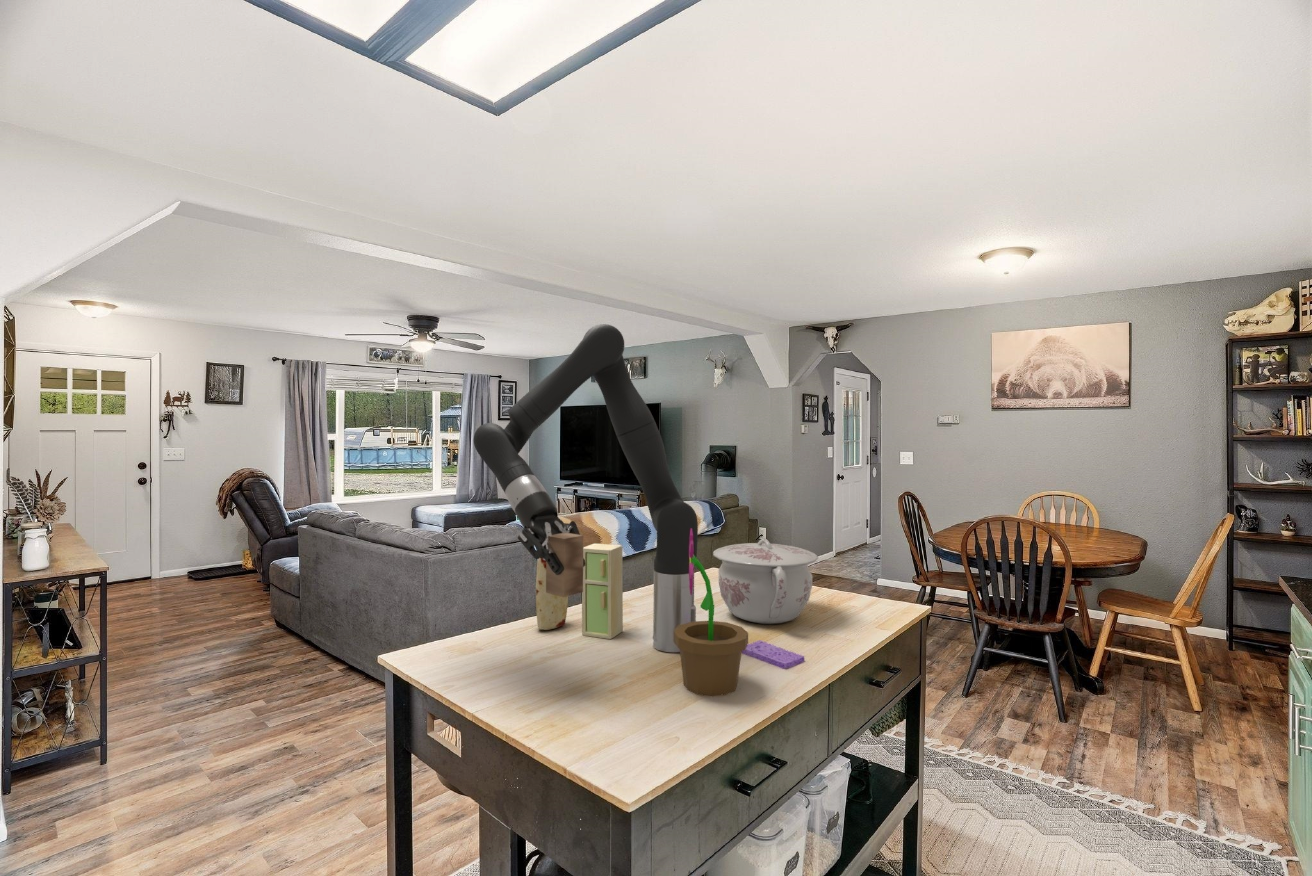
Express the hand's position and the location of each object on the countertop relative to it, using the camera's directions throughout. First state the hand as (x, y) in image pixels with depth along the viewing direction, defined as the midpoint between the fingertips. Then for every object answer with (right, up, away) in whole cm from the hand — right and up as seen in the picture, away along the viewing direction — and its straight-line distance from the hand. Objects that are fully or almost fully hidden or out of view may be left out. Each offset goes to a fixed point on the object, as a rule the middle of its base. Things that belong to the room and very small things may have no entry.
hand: (571, 569), depth 119 cm
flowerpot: (+27, -23, +1) cm, 35 cm away
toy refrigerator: (+3, -22, +30) cm, 37 cm away
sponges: (+41, -23, +16) cm, 50 cm away
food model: (-10, -22, +35) cm, 42 cm away
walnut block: (-2, -5, +1) cm, 5 cm away
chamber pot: (+45, -22, +45) cm, 67 cm away
